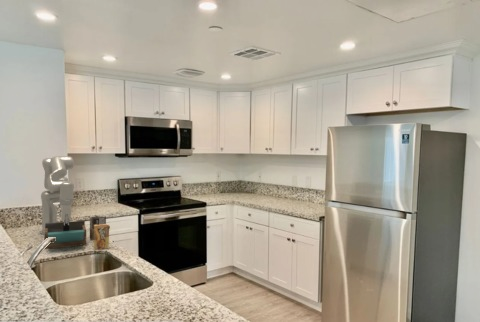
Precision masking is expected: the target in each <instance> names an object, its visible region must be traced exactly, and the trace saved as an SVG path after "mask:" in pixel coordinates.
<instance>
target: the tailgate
mask: <svg viewBox="0 0 480 322" xmlns="http://www.w3.org/2000/svg"><path fill="white" fill-rule="evenodd" d="M83 236H84V230H74V231H62V232H49V233H48V237H56V241H55V242H54V243H61V242H71V241H82V240H83Z"/></svg>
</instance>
